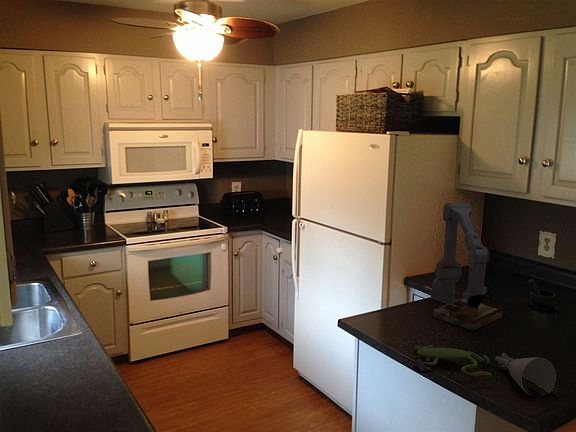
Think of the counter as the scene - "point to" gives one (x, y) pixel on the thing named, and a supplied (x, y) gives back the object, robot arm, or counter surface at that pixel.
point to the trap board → (452, 316)
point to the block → (468, 311)
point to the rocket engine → (530, 371)
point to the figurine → (448, 354)
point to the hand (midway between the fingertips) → (473, 312)
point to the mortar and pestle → (540, 297)
